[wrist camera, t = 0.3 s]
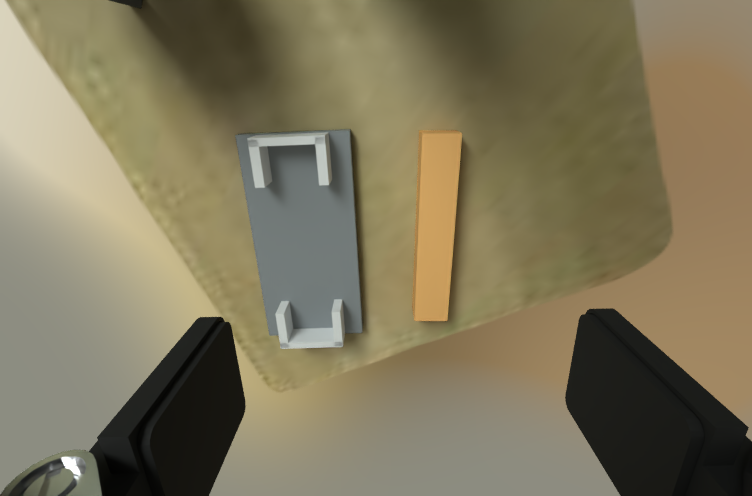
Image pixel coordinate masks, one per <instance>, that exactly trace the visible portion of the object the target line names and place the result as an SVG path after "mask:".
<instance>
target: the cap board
mask: <svg viewBox="0 0 752 496" xmlns="http://www.w3.org/2000/svg"><path fill="white" fill-rule="evenodd" d="M235 136H236V142H237V148H238V154H239V159H240V165H241V171H242V177H243V183H244V189H245V195H246V200H247V206H248V212H249V218H250V224H251V230H252V236H253V241H254V247H255V253H256V259H257V265H258V271H259V276H260V282H261V288H262V294H263V300H264V306H265V312H266V317H267V323H268V329H269V335H279V340H280V346H281V349H288V348H324V347H343V344H344V337H345V333H362V329H363V323H362V307H361V291H360V275H359V259H358V243H357V227H356V211H355V195H354V179H353V163H352V147H351V131H350V129H343V130H319V131H295V132H271V133H247V134H238V135H235Z"/></svg>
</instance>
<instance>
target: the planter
mask: <svg viewBox="0 0 752 496" xmlns="http://www.w3.org/2000/svg"><path fill="white" fill-rule="evenodd" d="M109 1H113V2H117V3H121V4H125V5H129V6H133V7H137V8H141V6H142V0H109Z"/></svg>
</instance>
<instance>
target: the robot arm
mask: <svg viewBox="0 0 752 496" xmlns="http://www.w3.org/2000/svg"><path fill="white" fill-rule="evenodd" d="M565 398H566V405H567V408H568V410H569V412H570V413H571V415H572V417H573V418H574V420H575V422H576V423H577V425H578V427H579V428H580V430H581V431H582V433H583V435H584V437H585V438H586V440H587V441H588V443H589V445H590V446H591V448H592V450H593V451H594V453H595V455H596V456H597V458H598V459H599V461H600V463H601V464H602V466H603V468H604V469H605V471H606V472H607V474H608V476H609V477H610V479H611V480H612V482H613V484H614V486H615V487H616V489H617V491H618V492H619V494H620V495H621V496H752V441H751V440H750V439H748V438H747V437H746V436H745V435H746V433H747V430H748V427H747V426H746V425H745V424H744V423H743V422H742V421H741V420H740V419H738V418H737V417H736V416H735V415H734V414H733V413H732V412H730V411H729V410H728V409H727V408H726V407H725V406H724V405H722V404H721V403H720V402H719V401H718V400H717V399H715V398H714V397H713V396H712V395H711V394H710V393H709V392H708V391H707V390H706V389H704V388H703V387H702V386H701V385H700V384H699V383H698V382H697V381H695V380H694V379H693V378H692V377H691V376H690V375H689V374H687V373H686V372H685V371H684V370H683V369H682V368H681V367H680V366H678V365H677V364H676V363H675V362H674V361H673V360H672V359H670V358H669V357H668V356H667V355H666V354H665V353H664V352H662V351H661V350H660V349H659V348H658V347H657V346H656V345H655V344H653V343H652V342H651V341H650V340H649V339H648V338H647V337H645V336H644V335H643V334H642V333H641V332H640V331H639V330H638V329H637V328H635V327H634V326H633V325H632V324H631V323H630V322H629V321H627V320H626V319H625V318H624V317H623V316H622V315H621V314H619V313H618V312H617V311H616V310H614V309H589V310H587V312H586V314H585V315H581V316H580V319H579V323H578V328H577V334H576V340H575V345H574V351H573V356H572V362H571V368H570V373H569V379H568V384H567V390H566V397H565ZM244 412H245V397H244V392H243V387H242V381H241V376H240V371H239V365H238V360H237V355H236V350H235V344H234V339H233V333H232V328H231V325H230V323H229V322H225V321H224V319H223V318H222V317H200V318H198V319H197V320H196V321H195V322H194V323H193V325H192V326H191V327H190V328H189V329H188V330H187V332H186V333H185V334H184V335H183V337H182V338H181V339H180V340H179V341H178V342H177V343H176V345H175V346H174V347H173V348H172V349H171V351H170V352H169V353H168V354H167V355H166V357H165V358H164V359H163V360H162V361H161V363H160V364H159V365H158V366H157V367H156V368H155V370H154V371H153V372H152V373H151V374H150V376H149V377H148V378H147V379H146V380H145V381H144V383H143V384H142V385H141V386H140V387H139V389H138V390H137V391H136V392H135V393H134V394H133V396H132V397H131V398H130V399H129V401H128V402H127V403H126V404H125V405H124V406H123V407H122V409H121V410H120V411H119V412H118V413H117V415H116V416H115V417H114V418H113V419H112V421H111V422H110V423H109V424H108V425H107V427H106V428H105V429H104V430H103V431H102V432H101V434H100V435H99V436H98V437H97V438H98V441H97V442H96V443H95V445H94V446H93V447H92V448H91V450H90V451H89V452H88V451H86V450H70V451H65V452H61V453H58V454H55V455H52V456H50V457H47V458H45V459H43V460H41V461H39V462H37V463H36V464H34V465H32V466H30V467H29V468H28V469H26V470H25V471H23V472H22V473H20V474H19V475H18V476H17V477H16V478H15V479H13V480H12V481H11V482H10V483H9V484H8V485H7V486H6V487H5V488H4V490H3V491H2V493H1V494H0V496H209V494H210V492H211V489H212V487H213V484H214V482H215V480H216V478H217V475H218V473H219V471H220V469H221V466H222V464H223V462H224V459H225V457H226V455H227V452H228V450H229V448H230V446H231V443H232V441H233V439H234V436H235V434H236V432H237V430H238V427H239V425H240V423H241V420H242V418H243V415H244Z"/></svg>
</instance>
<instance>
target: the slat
mask: <svg viewBox="0 0 752 496" xmlns="http://www.w3.org/2000/svg"><path fill="white" fill-rule="evenodd" d="M461 143H462V133H461V132H458V131H456V130H419V151H418V176H417V202H416V227H415V253H414V278H413V304H412V308H413V315H414V321H447V319H448V306H449V294H450V281H451V268H452V256H453V243H454V231H455V218H456V205H457V193H458V180H459V168H460V155H461Z"/></svg>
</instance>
